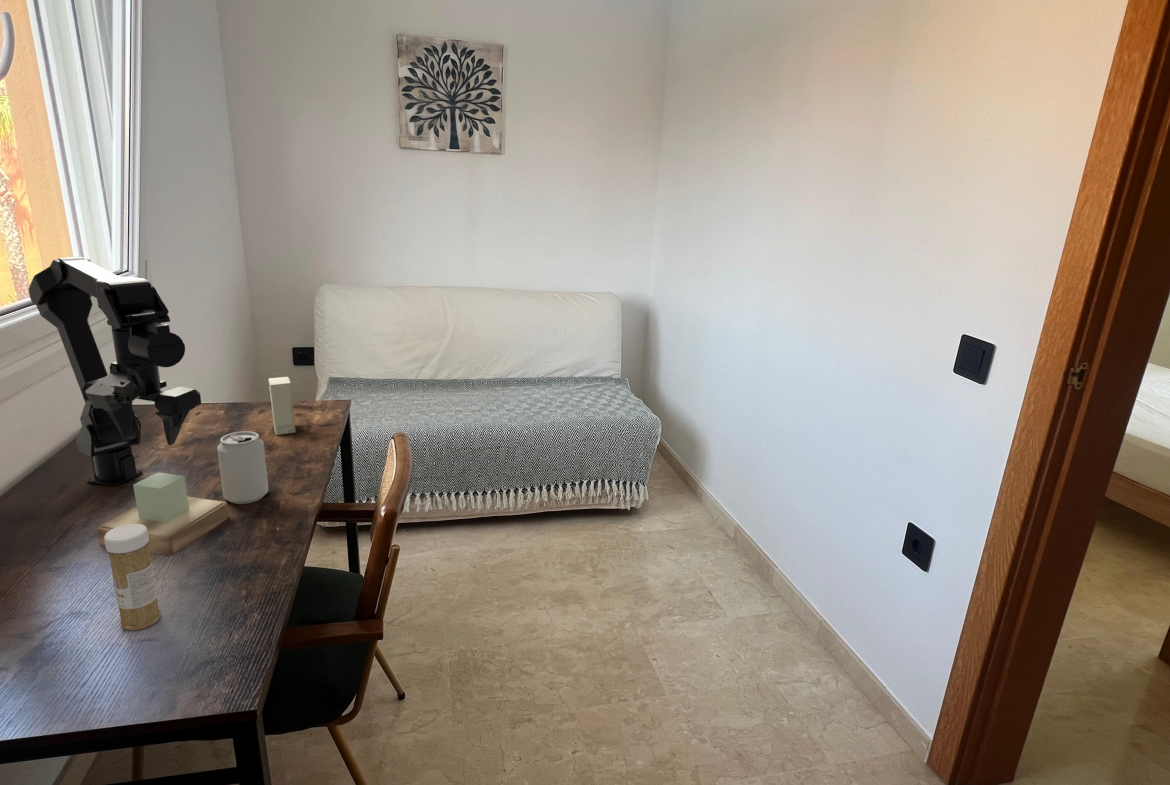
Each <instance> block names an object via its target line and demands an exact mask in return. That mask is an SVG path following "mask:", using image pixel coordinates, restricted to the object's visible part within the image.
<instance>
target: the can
mask: <svg viewBox="0 0 1170 785" xmlns="http://www.w3.org/2000/svg"><path fill="white" fill-rule="evenodd" d="M219 440H220V443H219V444H218V446H217V447H216V449H217V450H216V451H217V456H218V465H219V472H220V473H219V474H220V480H221V489H222V495H223V499H225V500H226V501H227V502H230V503H231V504H236V505H244V504H246V505H247V504H251V503H255V502H257V501H259V500H261V499H262V498H264V496H266V494H268V493H269V482H268V472H267V471H268V470H267V464H266V462H267V461H266V453H265V452H266V451H265V443H264V440H262V439H260V435H259V434H258V433H257V432H254V431H249V430H248V431H245V430H244V431H243V430H242V431H234V432H232V433H228V434H225V435H224V436H222V437H221V438H220V439H219Z"/></svg>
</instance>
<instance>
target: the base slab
mask: <svg viewBox="0 0 1170 785" xmlns="http://www.w3.org/2000/svg"><path fill="white" fill-rule="evenodd" d="M187 496H188V495H187ZM188 503H189V509H188V510H186V511H185V512H183V513H181V514H180V515H178V516H176V517H174V518H173V519H171V520H169V521H168V522H166V523H165V522H158V521H152V520H146V519H139V516H138V510H137V505H136V506H135V507H132V508H130V509H128V510H126V511H125V512H123V513H121V514H119V515H118V516H116V517H114V518H112V519H110V520H108V521H107V522H104V523H103V524H100V525H99V526H98V527H97V528H96V531H97V537H98V542H99V545H102V546H105V541H104V537H105V535H106V533H107V532H109V531H110V530H112V529H114V528H116V527H119V526H122V525H127V524H141V525H144V526H146V528H147V531H148V535H149V544H148V545H149V552H150V554H157V555H162V556H163V555H164V556H167V557H168V556H169V557H170V556H171V555H173V554H174V555H175V554H177V553H178V552H180V551H181V550H183V549H184V548H185V547H188V545H190V544H191V543H193V542H194V541H196V540H198V539H199V538H200V537H202V536H203V535H205V534H207V533H208V532H210V531H211V530H213V529H214V528H216V527H218V525H221V524H222V523H223V522H225V521H226V520H228V518H229V516H230V515H229V510H228V509H229V508H228V501H222V500H215V499H208V498H202V497H195V496H194V497H193V496H188Z"/></svg>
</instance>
